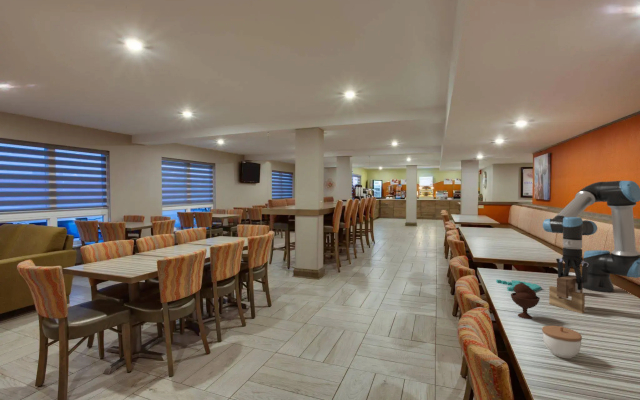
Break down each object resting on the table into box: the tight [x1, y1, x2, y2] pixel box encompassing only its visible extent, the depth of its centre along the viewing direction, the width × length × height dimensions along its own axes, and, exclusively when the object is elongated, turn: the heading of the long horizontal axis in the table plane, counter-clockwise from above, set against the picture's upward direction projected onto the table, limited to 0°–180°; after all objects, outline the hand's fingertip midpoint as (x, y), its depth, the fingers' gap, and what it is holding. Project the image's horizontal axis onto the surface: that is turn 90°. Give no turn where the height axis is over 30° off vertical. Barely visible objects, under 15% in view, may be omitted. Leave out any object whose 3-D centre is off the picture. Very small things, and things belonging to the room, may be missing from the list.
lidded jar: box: [541, 325, 583, 360], centre depth 106 cm, size 11×11×9 cm
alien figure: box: [495, 279, 542, 293], centre depth 188 cm, size 20×2×20 cm
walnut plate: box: [556, 275, 584, 299], centre depth 152 cm, size 14×4×9 cm, turn 114°
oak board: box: [548, 285, 586, 314], centre depth 151 cm, size 2×14×9 cm, turn 24°
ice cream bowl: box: [510, 284, 540, 320], centre depth 140 cm, size 11×11×15 cm
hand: (572, 294), depth 153 cm, fingers closed on walnut plate, 4 cm apart
